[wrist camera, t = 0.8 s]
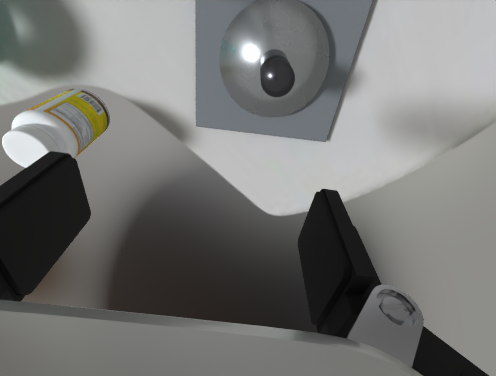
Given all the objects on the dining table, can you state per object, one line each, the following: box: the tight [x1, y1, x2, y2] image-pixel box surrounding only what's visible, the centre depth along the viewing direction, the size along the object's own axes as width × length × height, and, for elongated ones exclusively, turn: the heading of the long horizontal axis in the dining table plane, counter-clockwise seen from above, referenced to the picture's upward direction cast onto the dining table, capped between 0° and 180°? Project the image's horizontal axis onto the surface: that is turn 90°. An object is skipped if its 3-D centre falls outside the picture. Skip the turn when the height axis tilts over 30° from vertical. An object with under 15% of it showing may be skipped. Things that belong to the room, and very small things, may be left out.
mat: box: [196, 0, 373, 142], centre depth 26 cm, size 16×16×1 cm
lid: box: [219, 0, 329, 117], centre depth 24 cm, size 11×11×7 cm
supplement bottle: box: [2, 89, 110, 168], centre depth 26 cm, size 6×6×10 cm
